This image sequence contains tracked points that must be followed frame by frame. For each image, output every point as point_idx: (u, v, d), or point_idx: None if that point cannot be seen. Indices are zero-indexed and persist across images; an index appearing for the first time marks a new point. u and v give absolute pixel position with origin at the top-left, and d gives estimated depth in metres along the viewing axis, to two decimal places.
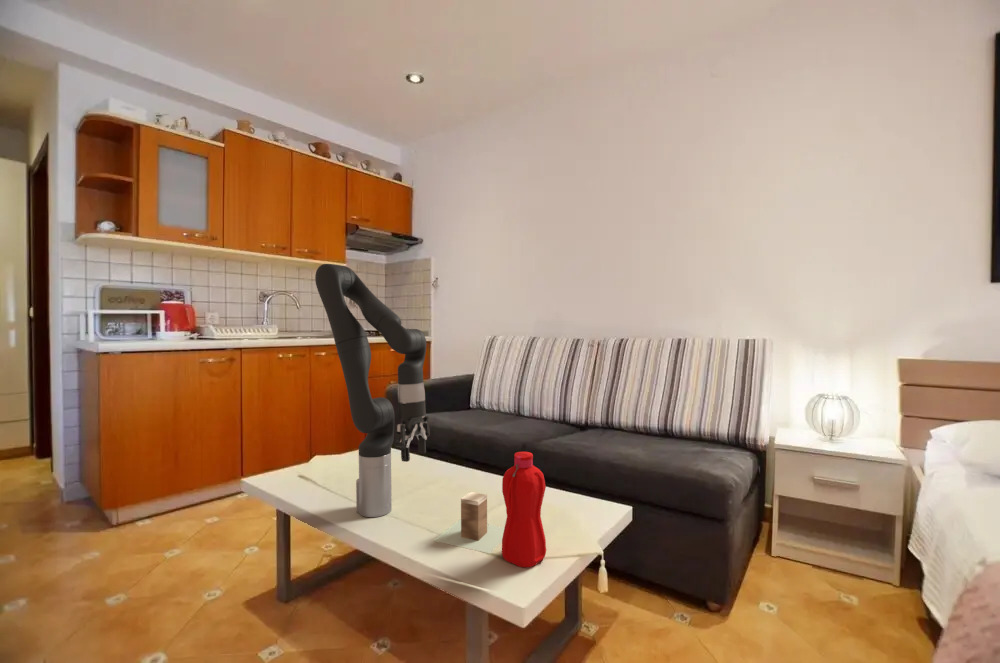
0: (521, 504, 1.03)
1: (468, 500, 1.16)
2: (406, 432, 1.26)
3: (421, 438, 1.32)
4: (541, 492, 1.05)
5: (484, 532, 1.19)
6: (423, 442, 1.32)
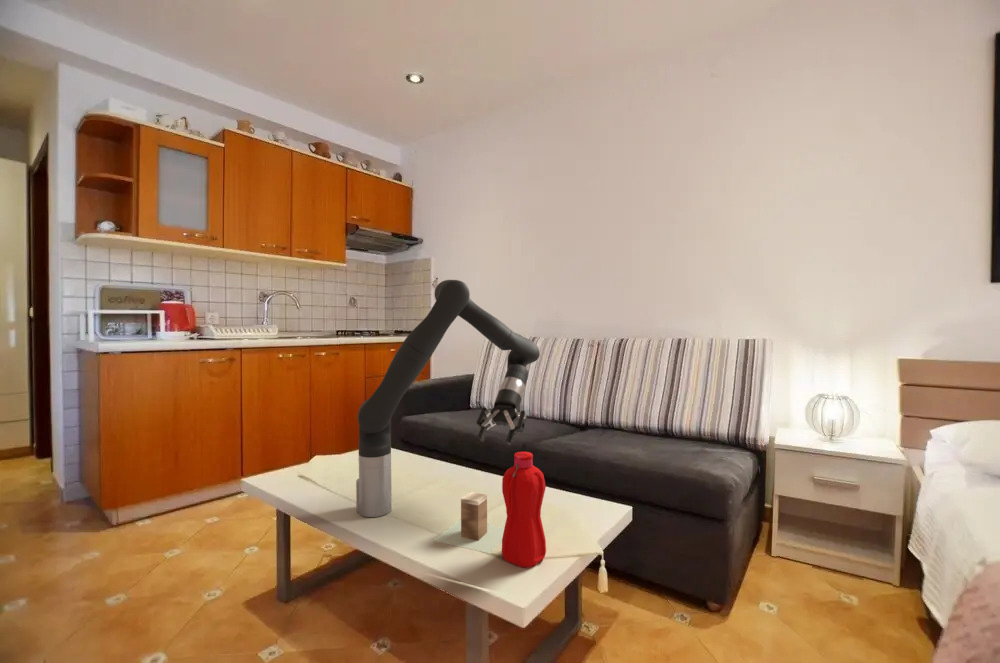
0: (521, 504, 1.03)
1: (468, 500, 1.16)
2: (510, 419, 1.33)
3: (486, 427, 1.34)
4: (541, 492, 1.05)
5: (484, 532, 1.19)
6: (486, 432, 1.34)
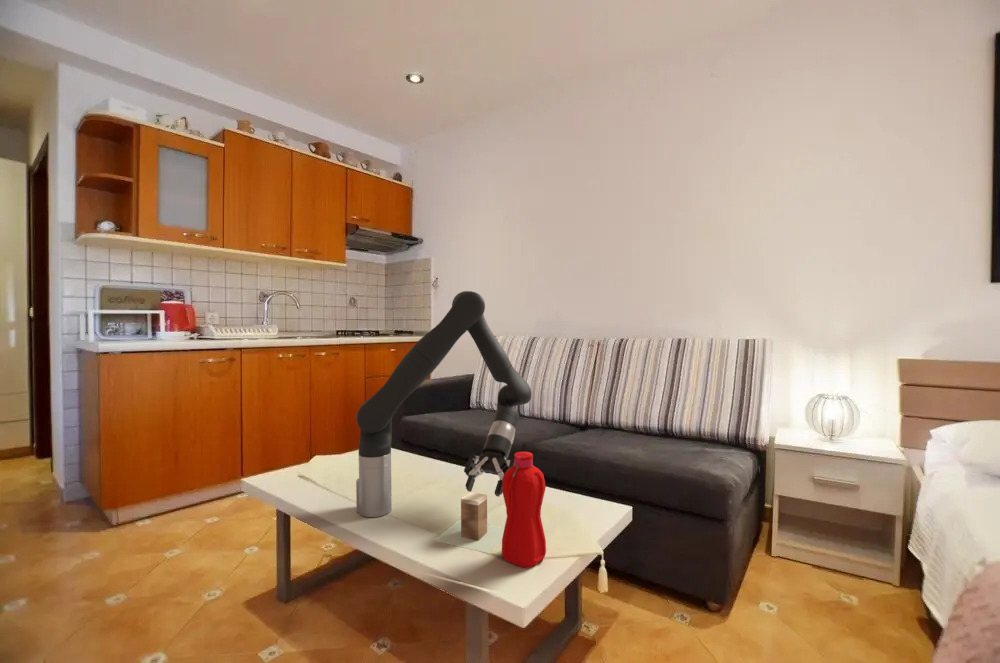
0: (521, 504, 1.03)
1: (468, 500, 1.16)
2: (500, 468, 1.26)
3: (474, 476, 1.27)
4: (541, 492, 1.05)
5: (484, 532, 1.19)
6: (474, 481, 1.27)
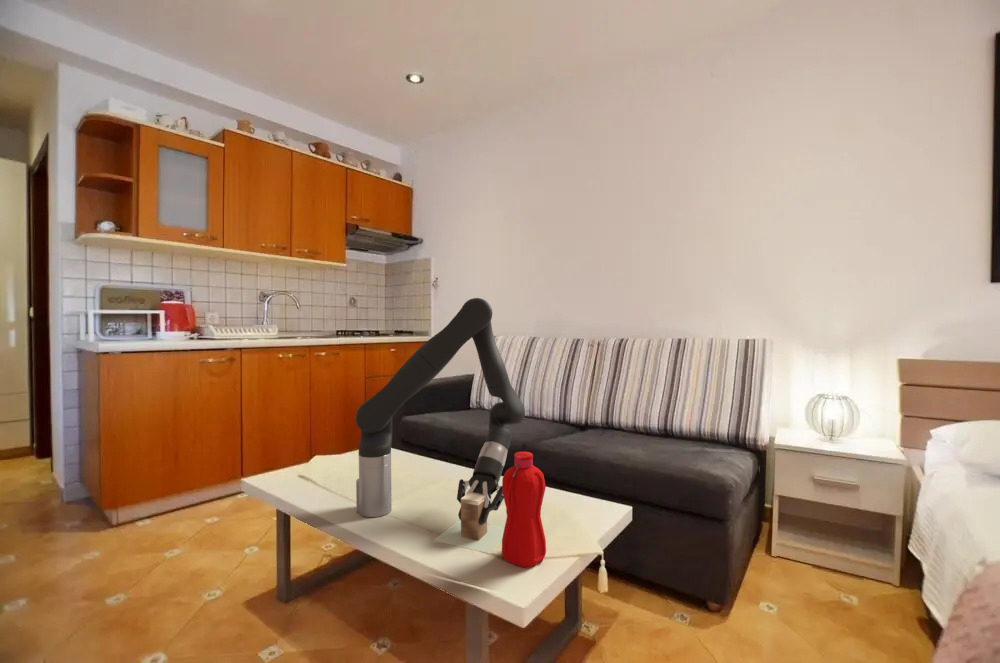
0: (521, 504, 1.03)
1: (468, 500, 1.16)
2: (488, 493, 1.21)
3: None
4: (541, 492, 1.05)
5: (484, 532, 1.19)
6: None
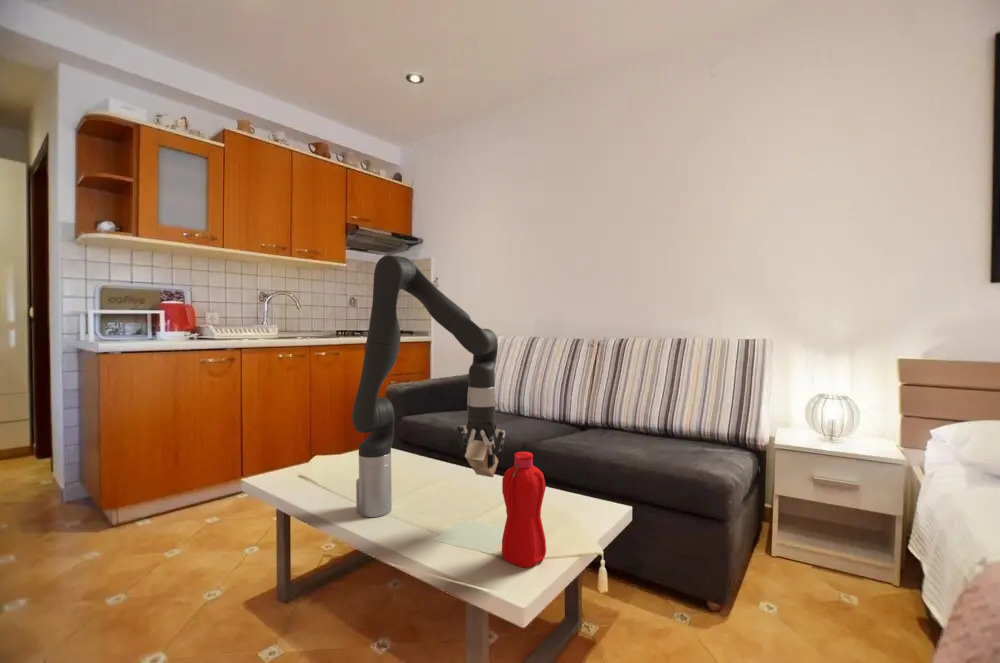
0: (521, 504, 1.03)
1: (472, 457, 1.19)
2: None
3: None
4: (541, 492, 1.05)
5: (496, 464, 1.26)
6: None
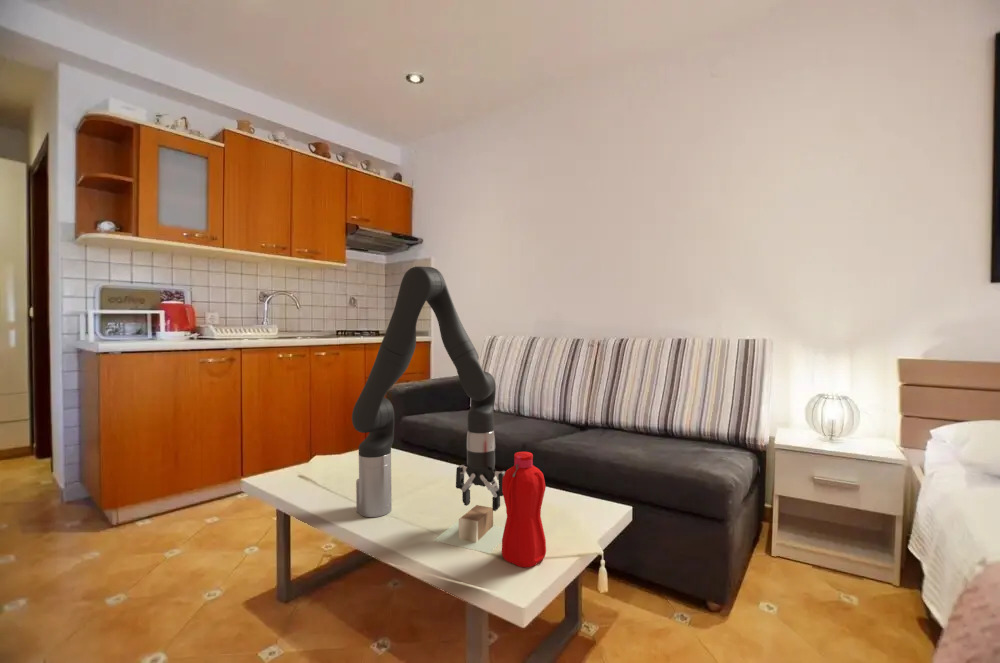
0: (521, 504, 1.03)
1: (466, 539, 1.16)
2: None
3: (467, 488, 1.24)
4: (541, 492, 1.05)
5: (492, 514, 1.23)
6: (469, 492, 1.25)
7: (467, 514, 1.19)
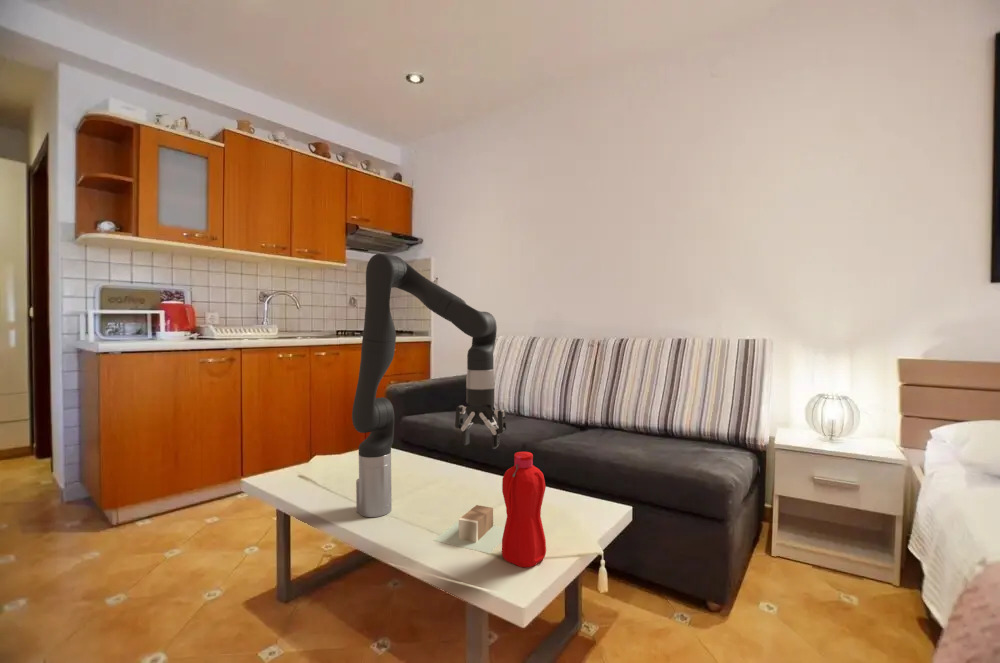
0: (521, 504, 1.03)
1: (466, 539, 1.16)
2: (489, 419, 1.21)
3: (467, 428, 1.24)
4: (541, 492, 1.05)
5: (492, 514, 1.23)
6: (468, 432, 1.25)
7: (467, 514, 1.19)
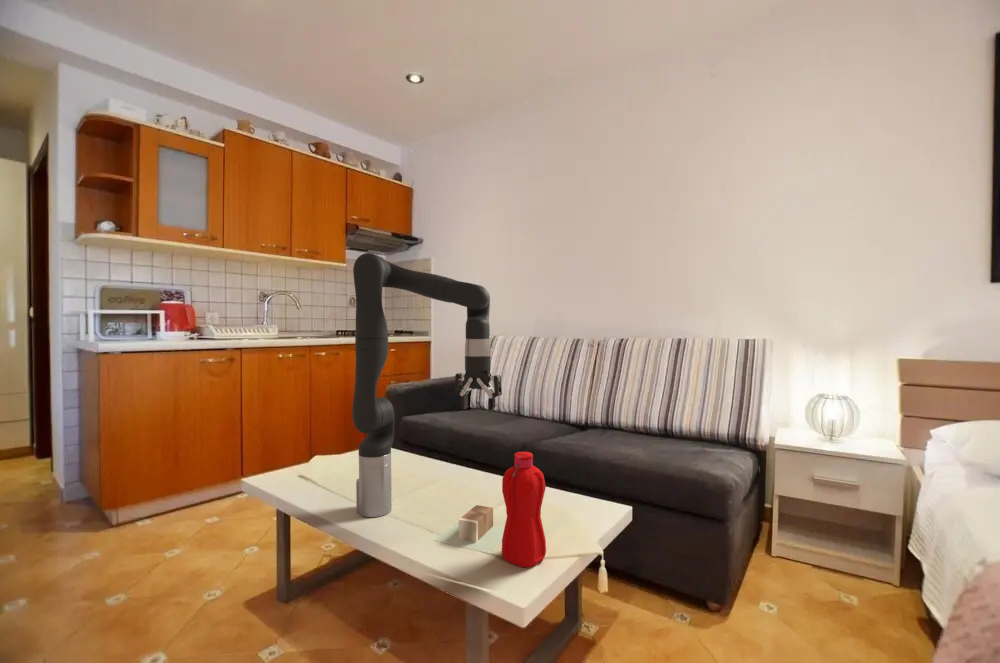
0: (521, 504, 1.03)
1: (466, 539, 1.16)
2: (486, 384, 1.32)
3: (465, 394, 1.35)
4: (541, 492, 1.05)
5: (492, 514, 1.23)
6: (467, 397, 1.36)
7: (467, 514, 1.19)
